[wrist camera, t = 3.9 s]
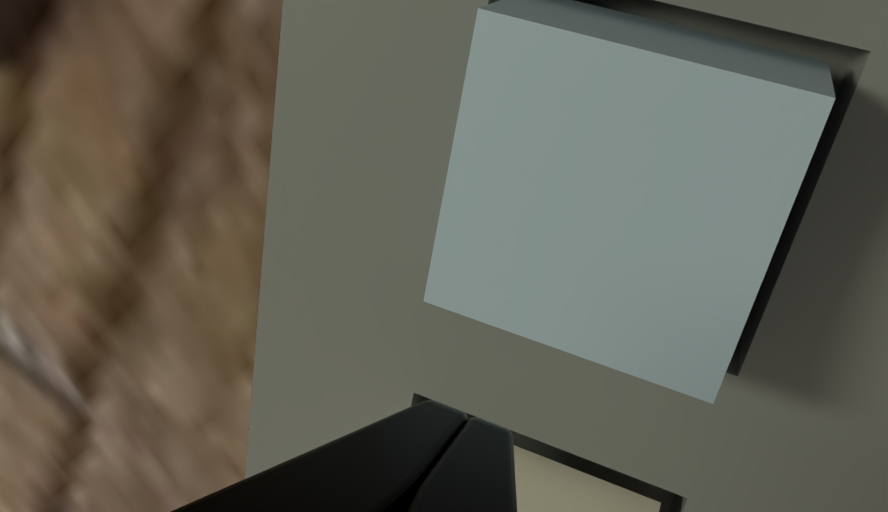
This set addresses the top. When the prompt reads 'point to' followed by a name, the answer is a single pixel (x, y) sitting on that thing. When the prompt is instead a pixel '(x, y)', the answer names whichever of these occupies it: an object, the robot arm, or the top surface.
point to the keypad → (530, 362)
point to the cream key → (569, 489)
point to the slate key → (621, 185)
